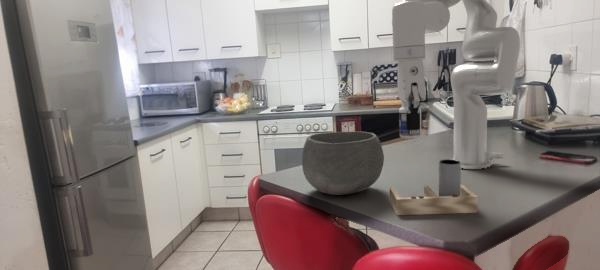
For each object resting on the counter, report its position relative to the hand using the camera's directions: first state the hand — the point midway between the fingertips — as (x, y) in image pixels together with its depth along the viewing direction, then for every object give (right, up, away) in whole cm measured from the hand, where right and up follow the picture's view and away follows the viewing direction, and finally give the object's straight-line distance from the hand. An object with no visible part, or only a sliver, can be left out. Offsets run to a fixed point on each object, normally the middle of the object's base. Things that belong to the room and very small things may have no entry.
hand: (410, 127), depth 100 cm
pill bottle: (0, -3, 0) cm, 3 cm away
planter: (+6, -18, -10) cm, 22 cm away
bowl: (-16, -17, +4) cm, 24 cm away
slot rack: (+2, -18, -10) cm, 21 cm away
